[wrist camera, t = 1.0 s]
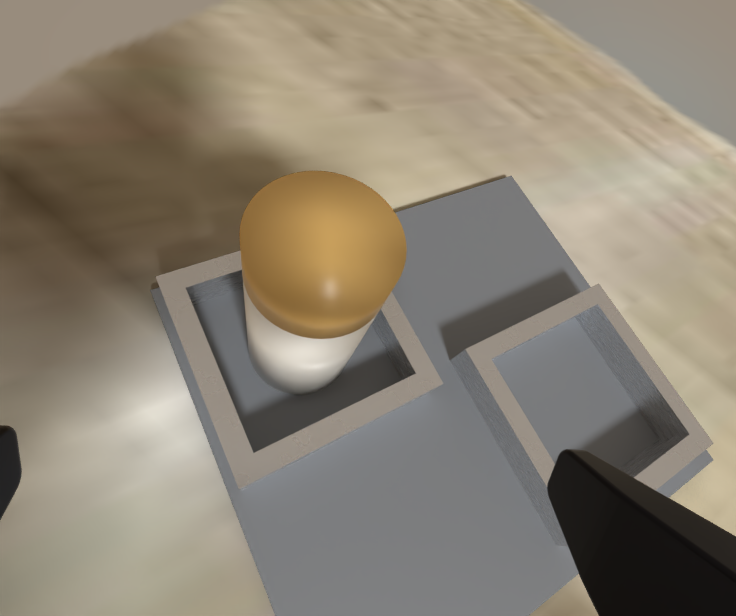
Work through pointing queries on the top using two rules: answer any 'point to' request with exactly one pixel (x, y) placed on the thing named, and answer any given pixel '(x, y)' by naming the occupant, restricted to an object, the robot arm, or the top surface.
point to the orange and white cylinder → (315, 275)
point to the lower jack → (630, 367)
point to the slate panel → (426, 431)
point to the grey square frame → (252, 467)
